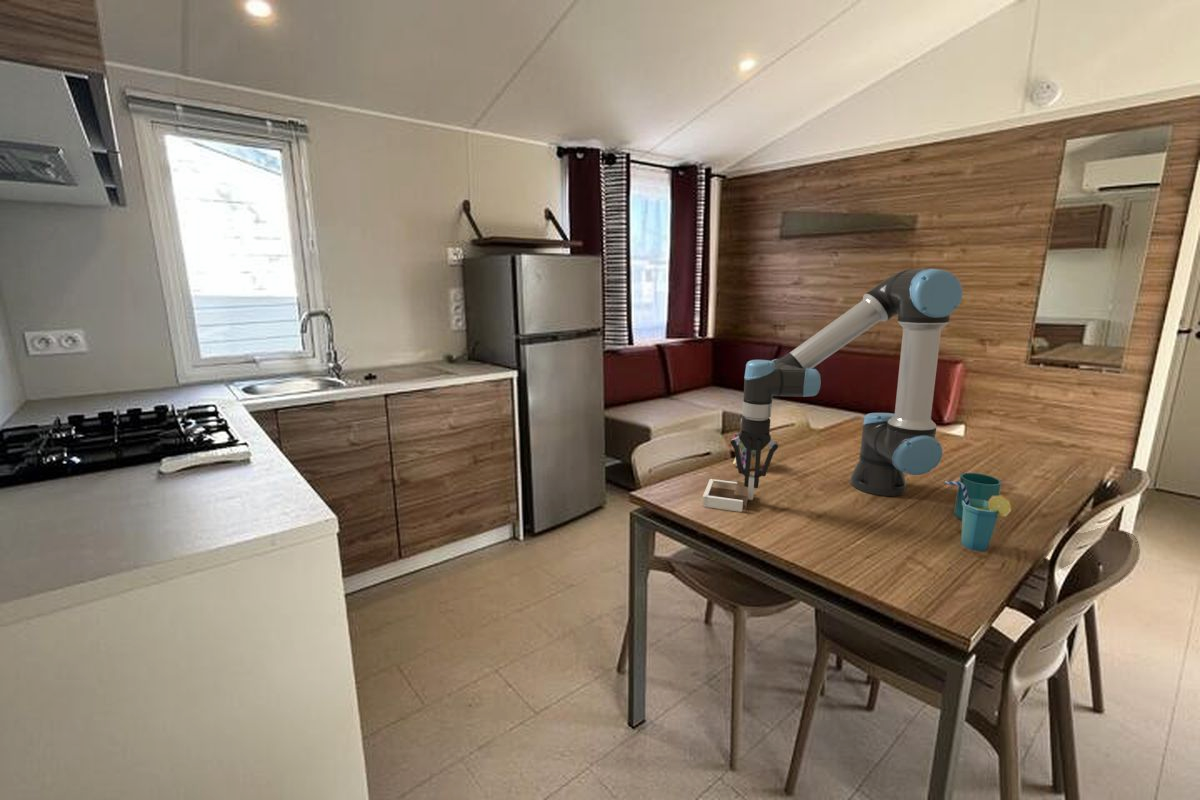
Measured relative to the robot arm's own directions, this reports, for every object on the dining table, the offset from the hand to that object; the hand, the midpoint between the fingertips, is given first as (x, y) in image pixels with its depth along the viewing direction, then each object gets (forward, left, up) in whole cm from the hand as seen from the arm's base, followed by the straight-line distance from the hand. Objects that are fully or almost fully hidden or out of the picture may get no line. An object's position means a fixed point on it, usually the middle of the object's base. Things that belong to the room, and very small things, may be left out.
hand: (750, 497), depth 154 cm
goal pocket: (+7, 0, -2) cm, 7 cm away
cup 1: (-58, -12, -2) cm, 59 cm away
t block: (+6, 0, -2) cm, 6 cm away
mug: (+4, -32, -2) cm, 32 cm away
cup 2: (-52, +7, -2) cm, 52 cm away
